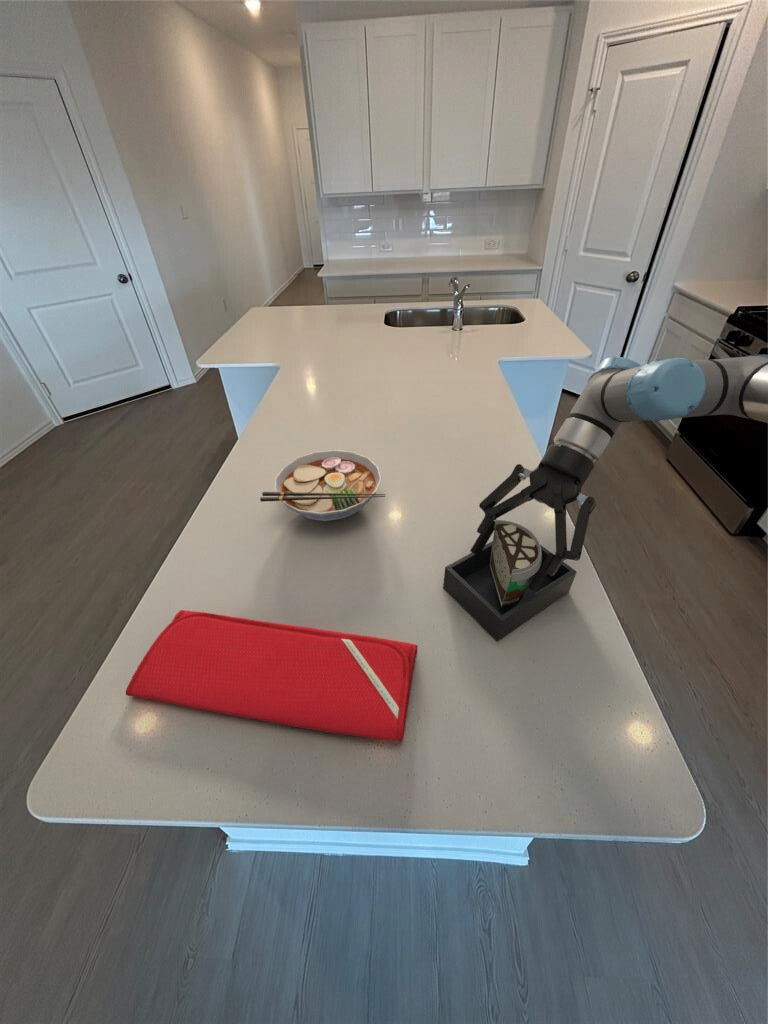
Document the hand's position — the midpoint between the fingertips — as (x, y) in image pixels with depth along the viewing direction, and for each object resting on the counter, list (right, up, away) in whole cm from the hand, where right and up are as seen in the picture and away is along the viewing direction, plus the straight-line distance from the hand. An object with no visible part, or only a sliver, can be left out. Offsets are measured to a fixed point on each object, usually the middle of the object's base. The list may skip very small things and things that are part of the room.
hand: (502, 570), depth 72 cm
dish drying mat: (-36, -15, -5) cm, 39 cm away
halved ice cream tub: (+3, -3, +3) cm, 5 cm away
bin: (+2, -4, +6) cm, 8 cm away
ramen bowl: (-31, +11, +26) cm, 42 cm away
